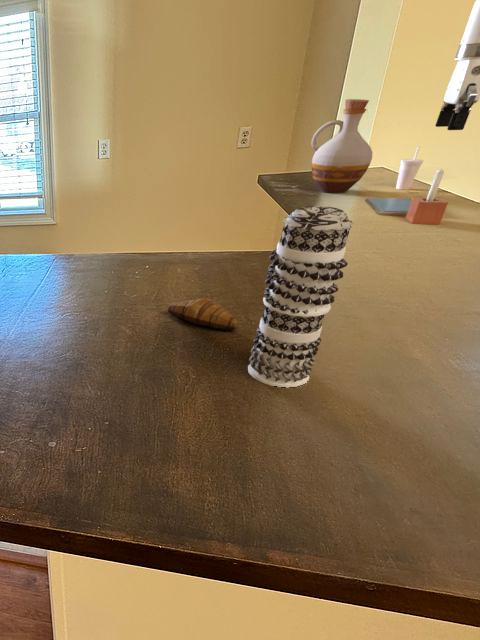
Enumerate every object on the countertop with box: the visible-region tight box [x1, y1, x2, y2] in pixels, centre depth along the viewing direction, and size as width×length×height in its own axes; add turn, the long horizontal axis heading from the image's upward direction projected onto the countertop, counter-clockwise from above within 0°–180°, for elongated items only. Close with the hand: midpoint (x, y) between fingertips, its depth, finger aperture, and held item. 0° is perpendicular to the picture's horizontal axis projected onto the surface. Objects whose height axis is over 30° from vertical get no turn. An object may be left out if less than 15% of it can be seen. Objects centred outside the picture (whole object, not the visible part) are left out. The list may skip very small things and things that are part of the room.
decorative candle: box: [247, 205, 355, 389], centre depth 68 cm, size 9×9×25 cm
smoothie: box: [395, 146, 424, 191], centre depth 169 cm, size 6×6×14 cm
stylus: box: [426, 169, 445, 201], centre depth 134 cm, size 2×2×14 cm
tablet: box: [364, 197, 412, 216], centre depth 151 cm, size 14×20×1 cm
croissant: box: [167, 297, 239, 331], centre depth 90 cm, size 14×7×5 cm, turn 43°
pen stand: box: [405, 196, 449, 225], centre depth 136 cm, size 6×6×6 cm
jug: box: [311, 98, 373, 194], centre depth 170 cm, size 20×18×30 cm
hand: (448, 128), depth 128 cm, fingers open, 9 cm apart
